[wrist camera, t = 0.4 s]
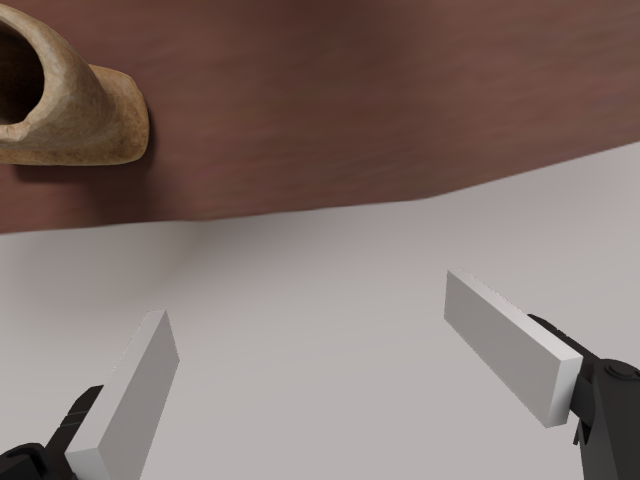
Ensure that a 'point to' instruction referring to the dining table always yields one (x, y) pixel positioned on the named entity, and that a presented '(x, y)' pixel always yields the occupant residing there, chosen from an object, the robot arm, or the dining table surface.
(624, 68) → the dining table surface
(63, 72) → the stone cup
